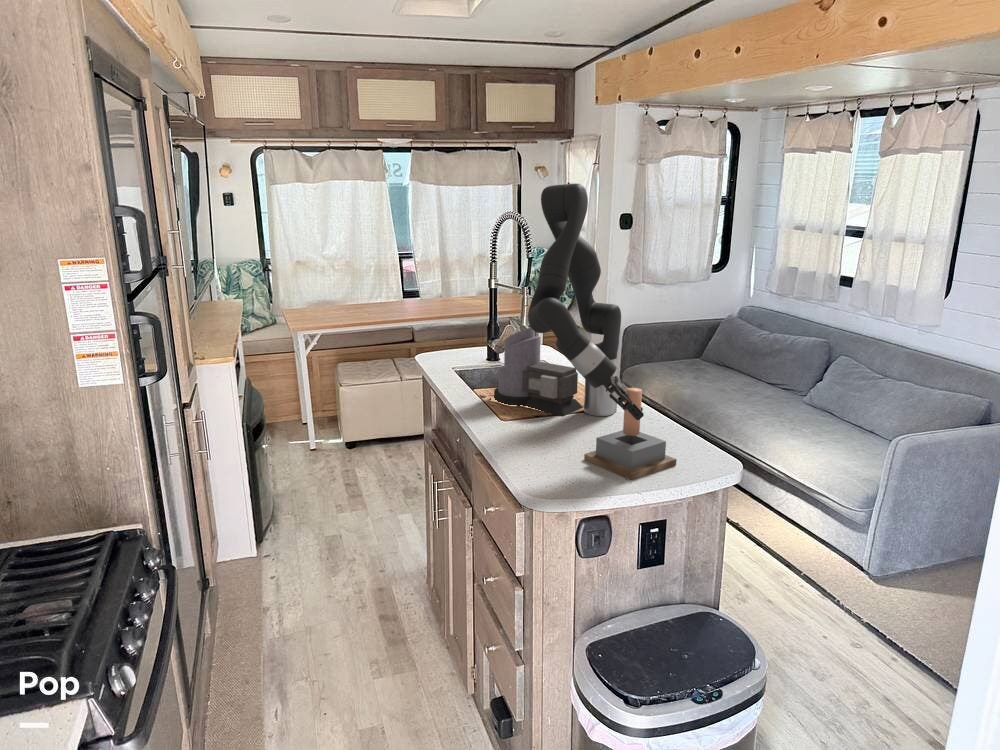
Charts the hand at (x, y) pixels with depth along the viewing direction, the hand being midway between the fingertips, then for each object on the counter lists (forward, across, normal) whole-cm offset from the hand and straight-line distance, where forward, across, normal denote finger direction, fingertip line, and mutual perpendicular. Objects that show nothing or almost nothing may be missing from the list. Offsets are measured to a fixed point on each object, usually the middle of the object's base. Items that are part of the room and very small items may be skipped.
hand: (640, 414), depth 175 cm
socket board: (+8, 0, +10) cm, 13 cm away
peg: (+2, 0, +5) cm, 5 cm away
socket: (+7, 0, +9) cm, 11 cm away
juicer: (-12, +47, +30) cm, 57 cm away
